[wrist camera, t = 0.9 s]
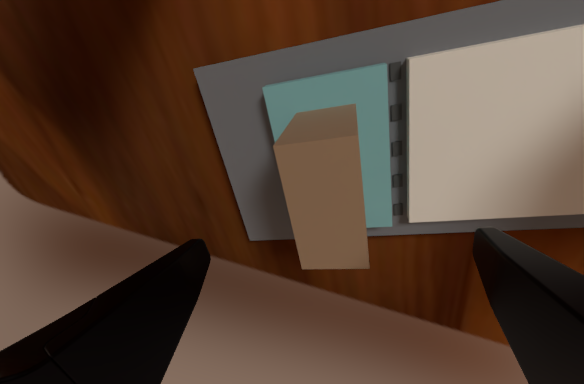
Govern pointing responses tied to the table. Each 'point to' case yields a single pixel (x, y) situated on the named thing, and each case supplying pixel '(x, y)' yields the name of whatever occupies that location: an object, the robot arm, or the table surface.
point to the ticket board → (434, 118)
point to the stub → (333, 162)
